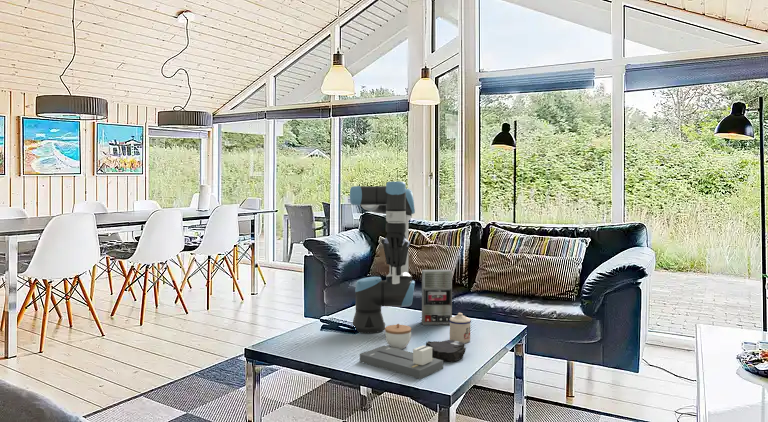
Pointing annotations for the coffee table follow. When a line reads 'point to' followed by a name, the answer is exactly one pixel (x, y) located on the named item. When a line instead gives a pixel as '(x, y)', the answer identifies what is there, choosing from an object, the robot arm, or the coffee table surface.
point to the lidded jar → (398, 335)
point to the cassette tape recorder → (436, 297)
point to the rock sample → (447, 350)
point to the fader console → (400, 362)
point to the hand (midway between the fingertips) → (395, 283)
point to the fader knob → (422, 355)
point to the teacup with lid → (460, 328)
